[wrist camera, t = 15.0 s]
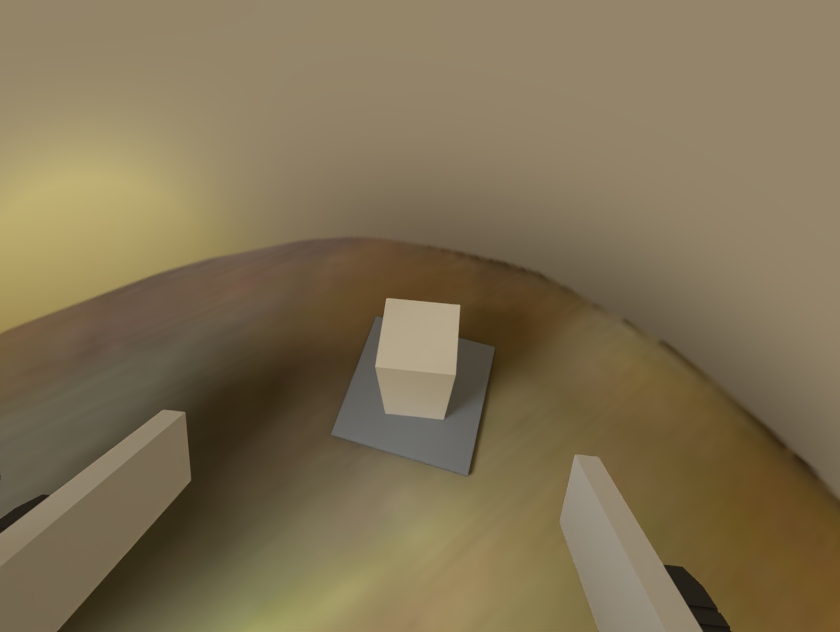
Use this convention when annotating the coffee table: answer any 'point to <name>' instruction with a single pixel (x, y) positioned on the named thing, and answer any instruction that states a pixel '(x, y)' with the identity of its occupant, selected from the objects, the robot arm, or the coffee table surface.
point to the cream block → (417, 357)
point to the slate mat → (417, 435)
